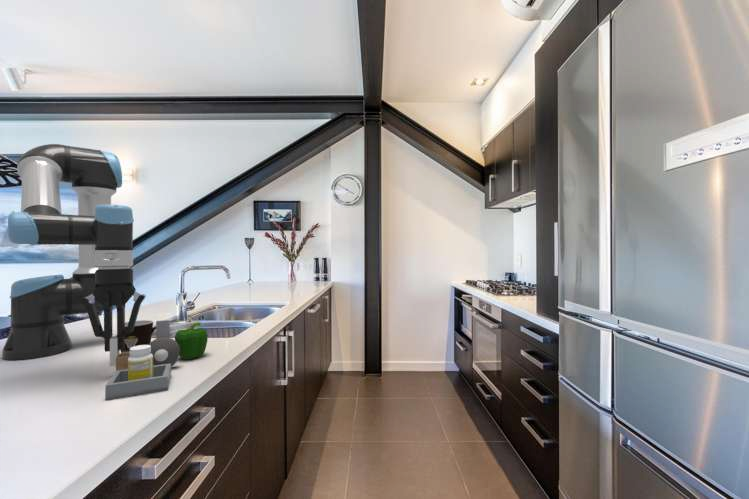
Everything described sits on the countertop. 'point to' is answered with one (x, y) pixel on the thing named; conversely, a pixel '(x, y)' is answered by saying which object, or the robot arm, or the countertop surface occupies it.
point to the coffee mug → (139, 334)
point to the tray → (138, 383)
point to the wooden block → (122, 361)
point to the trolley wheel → (164, 345)
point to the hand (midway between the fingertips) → (114, 363)
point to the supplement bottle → (140, 362)
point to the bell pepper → (191, 341)
